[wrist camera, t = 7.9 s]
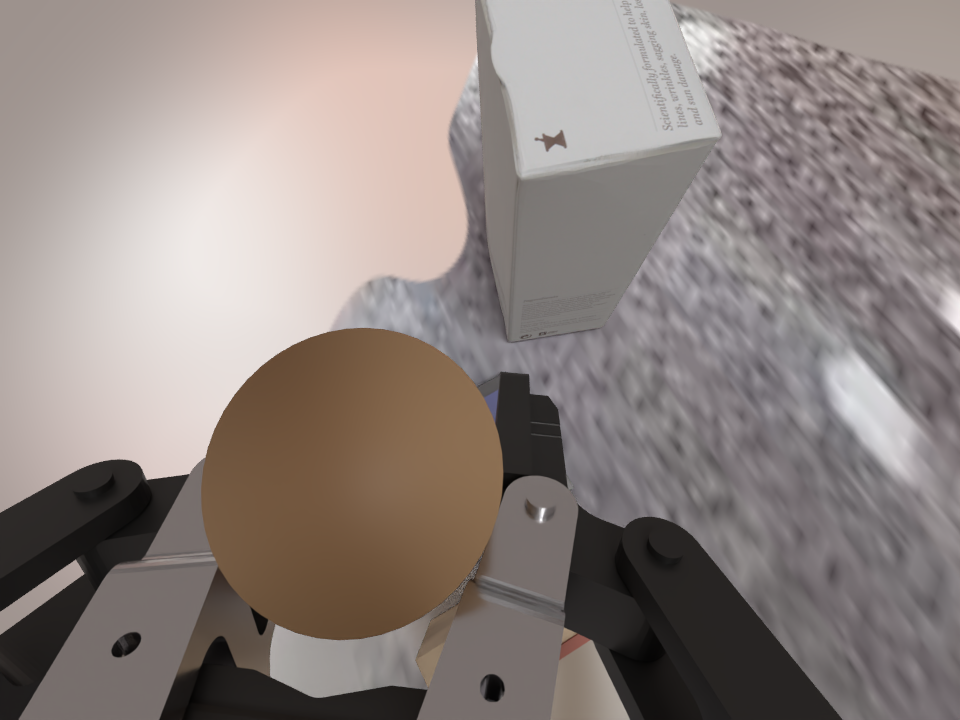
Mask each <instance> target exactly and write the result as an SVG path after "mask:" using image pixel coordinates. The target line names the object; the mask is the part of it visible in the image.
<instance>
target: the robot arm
mask: <svg viewBox="0 0 960 720" xmlns="http://www.w3.org/2000/svg"><path fill="white" fill-rule="evenodd" d="M495 425H496V428H497V431H498V434H499V439H500V445H501V450H502V460H503V486H502V496H501V501H500V506H499V512H498V516H497V519H496V522H495V525H494V528H493V531H492V534H491V536H490V538H489V540H488V543H487V545H486V547H485V550H484V553H483V556H482V559H481V562H480V564H479V567H478V570H477V573H476V575H475V578H474V579H473V580H472V579H470V580H469V582H468V583H467V585H466V587H465V590H464V592H463V594H462V597H461V600H460V603H459V605H458V608H457V611H456V614H455V616H454V619H453V622H452V625H451V627H450V630H449V633H448V635H447V638H446V641H445V644H444V646H443V649H442V652H441V655H440V657H439V660H438V663H437V666H436V668H435V671H434V674H433V677H432V679H431V682H430V685H429V688H428V690H423V689H415V688H407V687H398V686H387V687H381V688H376V689H370V690H364V691H358V692H353V693H347V694H341V695H335V696H330V697H324V698H314V697H311V696H308V695H306V694H304V693H302V692H300V691H298V690H296V689H294V688H292V687H290V686H287V685H285V684H283V683H281V682H279V681H277V680H275V679H273V678H271V677H270V647H271V641H272V637H273V632H274V628H275V623H273V622H272V621H270V620H268V619H267V618H265V617H264V616H262V615H260V614H259V613H258V612H257V611H255V610H254V609H253V608H252V607H251V606H249V605H248V604H247V603H246V602H245V601H244V600H243V599H242V598H241V597H240V596H239V595H238V594H237V592H236V591H235V590H234V589H233V588H232V587H231V586H230V584H229V583H228V581H227V579H226V578H225V576H224V575H223V573H222V572H221V570H220V569H219V567H218V564H217V562H216V560H215V558H214V556H213V554H212V551H211V549H210V546H209V542H208V539H207V536H206V532H205V528H204V522H203V515H202V507H201V485H202V475H203V467H204V463H205V458H204V459H203V460H201V461H200V462H199V463H198V464H197V465H196V466H195V467H194V468H193V470H192V471H191V473H190V474H187V475H182V476H174V477H167V478H158V479H151V480H146V478H145V475H144V473H143V471H142V469H141V467H140V466H139V465H138V464H137V463H135V462H132V461H129V460H109V461H103V462H99V463H95V464H92V465H89V466H86V467H84V468H81V469H79V470H77V471H75V472H74V473H72V474H70V475H68V476H66V477H64V478H62V479H60V480H59V481H57V482H55V483H53V484H52V485H50V486H48V487H46V488H44V489H42V490H41V491H39V492H37V493H35V494H33V495H32V496H30V497H28V498H26V499H24V500H23V501H21V502H19V503H17V504H15V505H14V506H12V507H10V508H8V509H6V510H5V511H3V512H1V513H0V611H2V610H3V609H5V608H6V607H8V606H9V605H10V604H12V603H13V602H15V601H16V600H18V599H19V598H21V597H22V596H23V595H25V594H26V593H28V592H29V591H31V590H32V589H33V588H35V587H37V586H38V585H39V584H41V583H42V582H44V581H45V580H47V579H48V578H49V577H51V576H52V575H54V574H55V573H56V572H58V571H59V570H61V569H63V568H64V567H65V566H67V565H68V564H70V563H71V562H73V561H74V560H75V559H76V560H77V562H78V563H79V565H80V567H81V568H82V570H83V572H84V573H85V574H84V575H83V576H81V577H80V578H78V579H77V580H76V581H74V582H73V583H72V584H70V585H69V586H67V587H66V588H65V589H63V590H62V591H61V592H59V593H58V594H56V595H55V596H54V597H52V598H51V599H50V600H48V601H47V602H46V603H44V604H43V605H41V606H40V607H38V608H37V609H36V610H34V611H33V612H32V613H30V614H29V615H27V616H26V617H25V618H23V619H22V620H21V621H19V622H18V623H16V624H15V625H14V626H12V627H11V628H10V629H8V630H7V631H5V632H4V633H3V634H1V635H0V720H551V713H552V706H553V699H554V692H555V685H556V679H557V672H558V665H559V658H560V651H561V644H562V637H563V630H564V628H566V629H569V630H571V631H573V632H575V633H577V634H579V635H581V636H584V637H586V638H588V639H590V640H592V641H593V643H594V645H595V648H596V650H597V652H598V654H599V656H600V658H601V660H602V662H603V665H604V667H605V669H606V671H607V673H608V675H609V677H610V679H611V681H612V683H613V685H614V687H615V689H616V692H617V694H618V696H619V698H620V700H621V702H622V704H623V706H624V708H625V710H626V712H627V714H628V716H629V719H630V720H842V718H841V717H840V716H839V715H838V714H837V712H836V711H835V710H834V709H833V707H832V706H831V705H830V704H829V702H828V701H827V700H826V699H825V698H824V696H823V695H822V694H821V693H820V691H819V690H818V689H817V688H816V687H815V685H814V684H813V683H812V682H811V680H810V679H809V678H808V677H807V676H806V674H805V673H804V672H803V671H802V669H801V668H800V667H799V666H798V664H797V663H796V662H795V661H794V660H793V658H792V657H791V656H790V655H789V653H788V652H787V651H786V650H785V649H784V647H783V646H782V645H781V644H780V642H779V641H778V640H777V639H776V637H775V636H774V635H773V634H772V633H771V631H770V630H769V629H768V628H767V626H766V625H765V624H764V623H763V622H762V620H761V619H760V618H759V617H758V615H757V614H756V613H755V612H754V611H753V609H752V608H751V607H750V606H749V604H748V603H747V602H746V601H745V599H744V598H743V597H742V596H741V595H740V593H739V592H738V591H737V590H736V588H735V587H734V586H733V585H732V584H731V582H730V581H729V580H728V579H727V577H726V576H725V575H724V574H723V572H722V571H721V570H720V569H719V568H718V566H717V565H716V564H715V563H714V561H713V560H712V559H711V558H710V557H709V555H708V554H707V553H706V552H705V550H704V549H703V548H702V547H701V546H700V544H699V543H698V542H697V541H696V540H695V539H694V537H693V536H692V535H690V534H689V533H688V532H687V531H686V530H684V529H683V528H681V527H680V526H678V525H676V524H674V523H672V522H670V521H667V520H664V519H661V518H655V517H642V518H638V519H635V520H633V521H631V522H630V523H629V524H628V525H627V526H626V527H625V528H622V527H620V526H617V525H614V524H612V523H609V522H606V521H604V520H601V519H599V518H597V517H595V516H593V515H591V514H589V513H588V512H587V511H585V510H584V509H583V508H581V507H580V506H579V505H578V504H577V501H576V499H575V497H574V495H573V494H572V493H571V492H570V490H569V489H568V485H567V478H566V470H565V462H564V454H563V446H562V439H561V430H560V422H559V414H558V409H557V407H556V406H555V405H554V403H553V402H552V401H551V399H550V398H549V397H548V396H543V395H532V394H530V388H529V374H518V373H508V372H500V381H499V390H498V399H497V409H496V418H495Z"/></svg>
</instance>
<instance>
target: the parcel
mask: <svg viewBox="0 0 960 720" xmlns="http://www.w3.org/2000/svg"><path fill="white" fill-rule="evenodd" d="M458 605H459V604H457V605H455V606H454V607H452V608H451V609H449V610H447V611H446V612H444V613H442V614H441V615H439V616H437V617H436V618H434V619H433V620H431V621H430V624H429V626H428V629H427V632H426V634H425V637H424V639H423V642H422V644H421V647H420V650H419V652H418V655H417V657H416V662H417V665H418V667H419V669H420V671H421V673H422V675H423V678H424V680H425V682H426V684H427V686H428V688H429V685H430V682H431V679H432V677H433V674H434V671H435V668H436V666H437V663H438V660H439V657H440V655H441V652H442V649H443V646H444V644H445V641H446V638H447V635H448V633H449V630H450V627H451V625H452V622H453V619H454V616H455V614H456V611H457V608H458ZM551 720H630V719H629V716H628V714H627V712H626V710H625V708H624V706H623V704H622V702H621V700H620V698H619V696H618V694H617V692H616V689H615V687H614V685H613V683H612V681H611V679H610V677H609V675H608V673H607V671H606V669H605V667H604V665H603V662H602V660H601V658H600V656H599V654H598V652H597V650H596V648H595V645H594V643H593V641H592V640H590V639H588V638H586V637H584V636H581V635H579V634H577V633H575V632H573V631H571V630H569V629H566V628H564V630H563V637H562V644H561V651H560V658H559V665H558V672H557V679H556V685H555V692H554V699H553V706H552V713H551Z"/></svg>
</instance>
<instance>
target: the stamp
mask: <svg viewBox="0 0 960 720" xmlns="http://www.w3.org/2000/svg"><path fill="white" fill-rule="evenodd" d="M502 486H503V460H502V450H501V445H500V439H499V434H498V431H497V428H496V425H495V422H494V419H493V416H492V414H491V412H490V409H489V407H488V405H487V403H486V401H485V399H484V397H483V396H482V394H481V393H480V391H479V390H478V388H477V387H476V385H475V384H474V382H473V381H472V380H471V379H470V378H469V376H468V375H467V374H466V373H465V372H464V371H463V370H462V368H460V367H459V366H458V365H457V364H456V363H455V362H454V361H453V360H451V359H450V358H449V357H448V356H446V355H445V354H443V353H442V352H441V351H439V350H438V349H436V348H435V347H433V346H431V345H429V344H427V343H425V342H423V341H421V340H419V339H417V338H414V337H411V336H408V335H405V334H402V333H398V332H394V331H389V330H384V329H372V328H354V329H343V330H337V331H331V332H327V333H324V334H320V335H317V336H314V337H310V338H308V339H306V340H304V341H301V342H299V343H297V344H294V345H292V346H291V347H289V348H287V349H286V350H284V351H282V352H280V353H279V354H277V355H276V356H274V357H273V358H272V359H270V360H269V361H268V362H266V363H265V364H264V365H262V366H261V367H260V368H259V369H258V370H257V371H256V372H255V373H254V374H253V375H252V376H251V377H250V378H248V379H247V381H246V382H245V383H244V384H243V385H242V387H241V388H240V389H239V390H238V391H237V393H236V394H235V395H234V397H233V398H232V400H231V401H230V403H229V404H228V406H227V407H226V409H225V410H224V412H223V414H222V416H221V418H220V420H219V422H218V424H217V426H216V428H215V430H214V433H213V435H212V438H211V441H210V444H209V446H208V450H207V454H206V458H205V463H204V467H203V475H202V485H201V507H202V515H203V522H204V528H205V532H206V536H207V539H208V542H209V546H210V549H211V551H212V554H213V556H214V558H215V560H216V562H217V564H218V567H219V569H220V570H221V572H222V573H223V575H224V576H225V578H226V579H227V581H228V583H229V584H230V586H231V587H232V588H233V589H234V590H235V591H236V592H237V594H238V595H239V596H240V597H241V598H242V599H243V600H244V601H245V602H246V603H247V604H248V605H249V606H251V607H252V608H253V609H254V610H255V611H257V612H258V613H259V614H260V615H262V616H264V617H265V618H267V619H268V620H270V621H272V622H273V623H275V624H277V625H279V626H281V627H283V628H286V629H288V630H291V631H293V632H295V633H299V634H303V635H307V636H311V637H315V638H321V639H332V640H350V639H362V638H367V637H372V636H377V635H382V634H385V633H387V632H390V631H393V630H396V629H399V628H401V627H404V626H406V625H407V624H409V623H411V622H413V621H415V620H417V619H419V618H421V617H423V616H424V615H425V614H427V613H428V612H430V611H431V610H433V609H434V608H435V607H437V606H438V605H440V604H441V603H442V602H443V601H444V600H445V599H446V598H447V597H448V596H449V595H451V594H452V593H453V592H454V591H455V590H456V589H457V588H458V586H459V585H460V584H461V583H462V582H463V581H464V579H465V578H466V577H467V576H468V575H469V573H470V572H471V571H472V569H473V567H474V566H475V564H476V563H477V561H478V560H479V558H480V556H481V555H482V553H483V551H484V549H485V547H486V545H487V543H488V540H489V538H490V536H491V534H492V531H493V528H494V525H495V522H496V519H497V516H498V512H499V506H500V501H501V496H502Z"/></svg>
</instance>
